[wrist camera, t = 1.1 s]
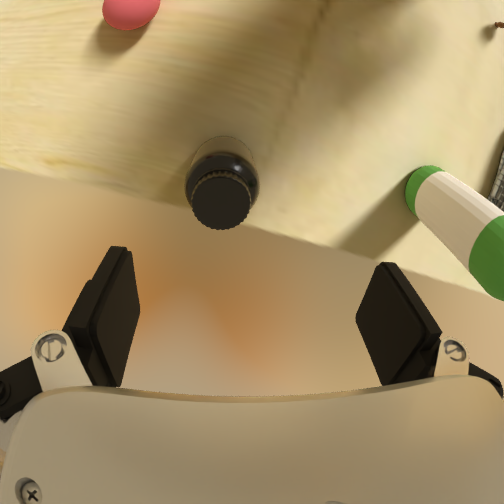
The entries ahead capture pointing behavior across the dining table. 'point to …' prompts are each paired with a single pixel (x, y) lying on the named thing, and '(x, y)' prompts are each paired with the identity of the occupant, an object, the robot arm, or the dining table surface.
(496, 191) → the towel
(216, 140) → the supplement bottle
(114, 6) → the ball
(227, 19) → the dining table surface
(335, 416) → the robot arm
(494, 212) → the wine bottle
